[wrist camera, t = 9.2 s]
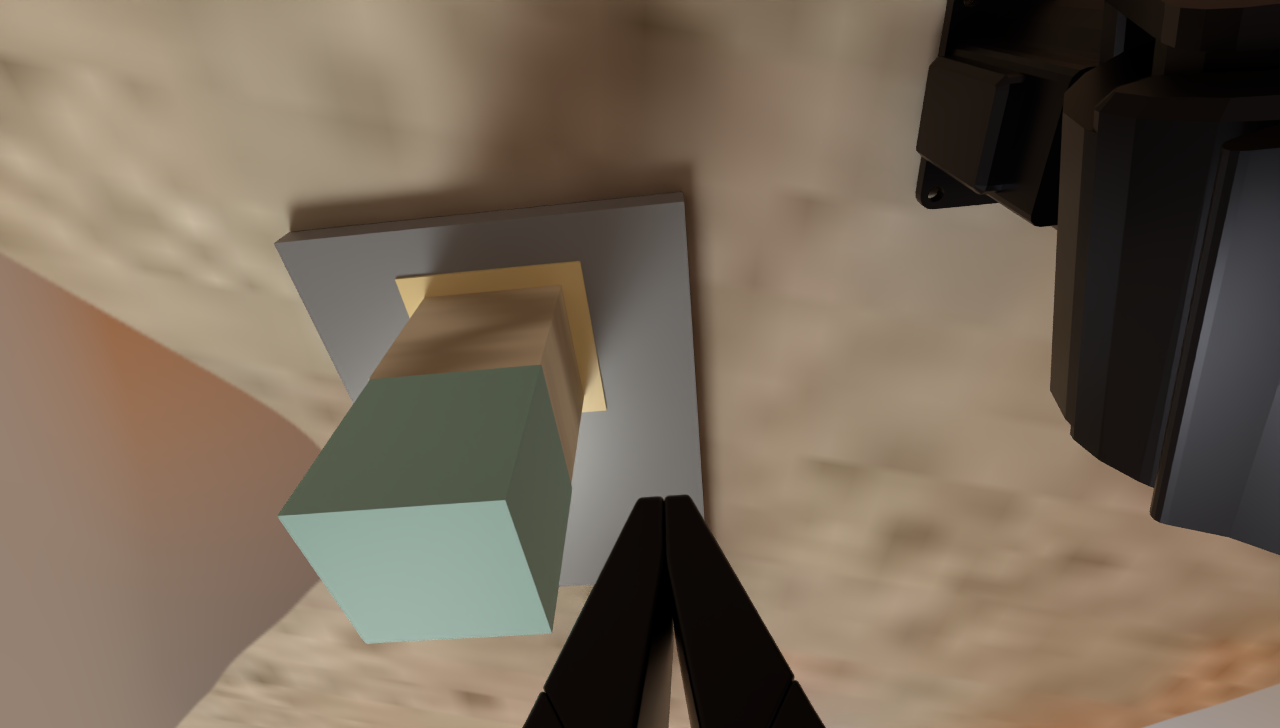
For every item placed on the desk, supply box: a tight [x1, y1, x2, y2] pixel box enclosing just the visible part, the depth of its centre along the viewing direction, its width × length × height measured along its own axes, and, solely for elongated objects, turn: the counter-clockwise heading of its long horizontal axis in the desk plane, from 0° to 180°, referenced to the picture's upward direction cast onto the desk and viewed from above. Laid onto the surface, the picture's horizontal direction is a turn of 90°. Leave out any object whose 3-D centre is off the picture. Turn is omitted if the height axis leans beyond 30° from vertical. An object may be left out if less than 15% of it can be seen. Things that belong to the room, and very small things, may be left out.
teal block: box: [278, 365, 572, 644], centre depth 16 cm, size 5×5×5 cm
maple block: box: [368, 285, 584, 483], centre depth 20 cm, size 5×5×5 cm
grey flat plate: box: [274, 192, 704, 587], centre depth 25 cm, size 14×20×1 cm
